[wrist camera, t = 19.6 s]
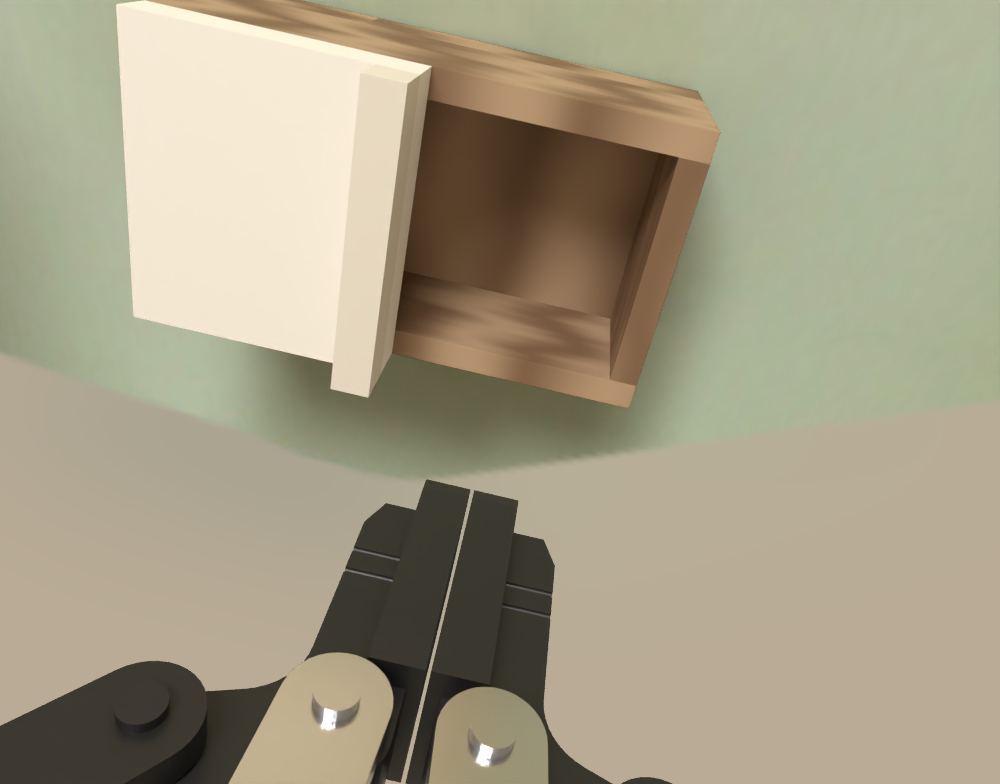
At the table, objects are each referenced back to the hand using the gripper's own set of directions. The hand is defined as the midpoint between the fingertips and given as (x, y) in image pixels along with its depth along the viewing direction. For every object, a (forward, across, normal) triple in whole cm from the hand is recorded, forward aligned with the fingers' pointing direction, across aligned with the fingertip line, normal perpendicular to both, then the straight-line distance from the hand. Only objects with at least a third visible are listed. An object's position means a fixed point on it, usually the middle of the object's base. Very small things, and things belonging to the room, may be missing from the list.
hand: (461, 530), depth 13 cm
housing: (+30, +5, +3) cm, 31 cm away
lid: (+21, +11, +3) cm, 24 cm away
